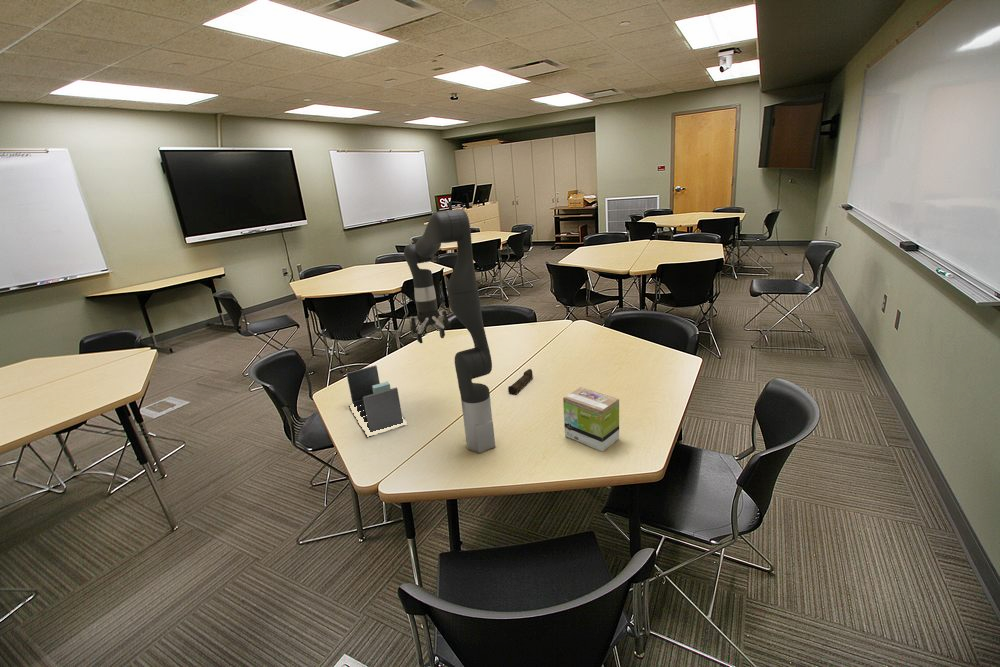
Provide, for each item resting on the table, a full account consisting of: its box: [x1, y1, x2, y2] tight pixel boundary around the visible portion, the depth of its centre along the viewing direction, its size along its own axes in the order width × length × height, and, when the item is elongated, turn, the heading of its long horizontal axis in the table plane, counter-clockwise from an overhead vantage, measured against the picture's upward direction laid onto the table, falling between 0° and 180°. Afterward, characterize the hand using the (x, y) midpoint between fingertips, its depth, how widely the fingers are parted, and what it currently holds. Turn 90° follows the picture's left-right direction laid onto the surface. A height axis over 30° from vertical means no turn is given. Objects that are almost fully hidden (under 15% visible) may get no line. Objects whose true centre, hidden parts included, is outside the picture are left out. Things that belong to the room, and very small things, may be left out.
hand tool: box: [507, 368, 534, 396], centre depth 192 cm, size 19×4×5 cm, turn 148°
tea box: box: [562, 386, 620, 452], centre depth 147 cm, size 15×10×15 cm, turn 45°
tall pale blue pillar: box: [372, 381, 392, 394], centre depth 175 cm, size 3×6×12 cm, turn 119°
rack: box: [345, 364, 403, 432], centre depth 175 cm, size 30×15×15 cm, turn 30°
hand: (431, 340), depth 172 cm, fingers open, 8 cm apart
